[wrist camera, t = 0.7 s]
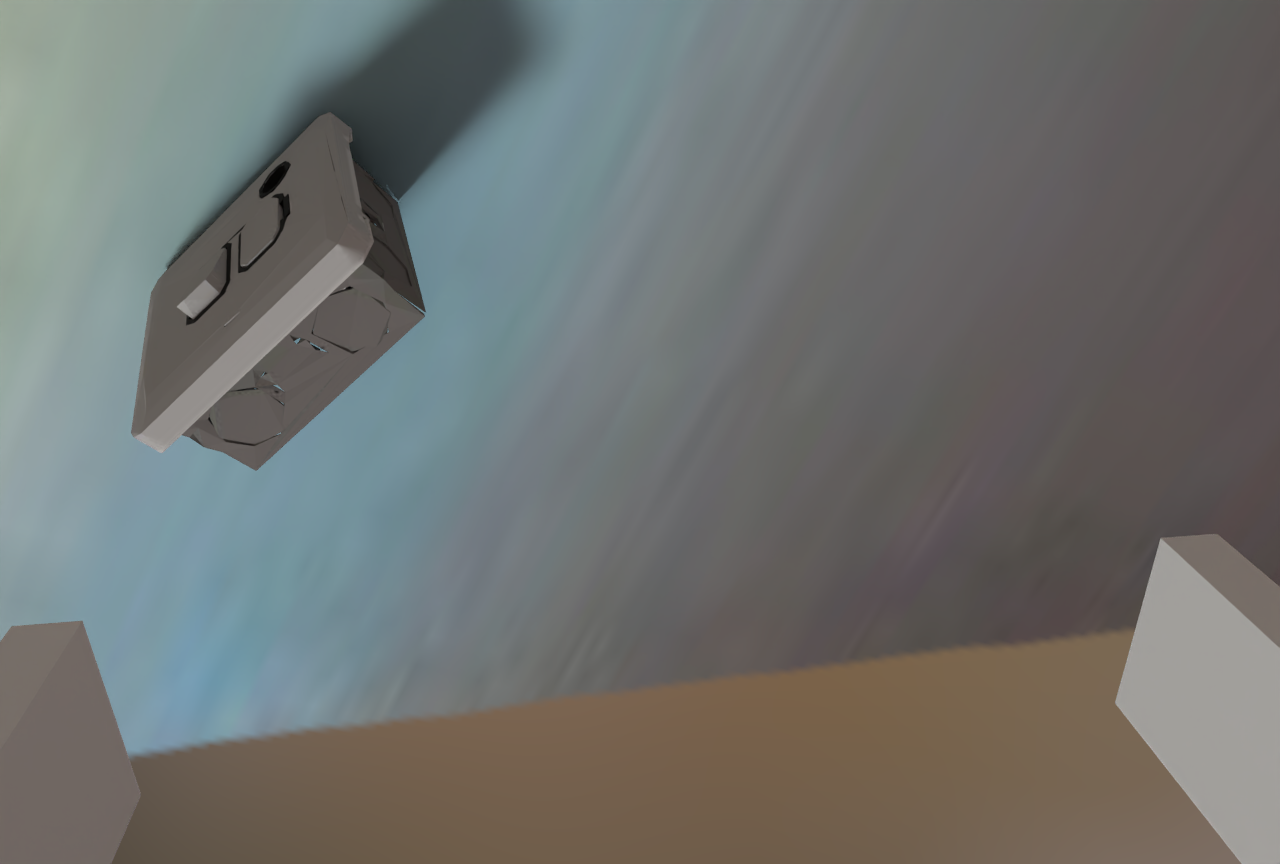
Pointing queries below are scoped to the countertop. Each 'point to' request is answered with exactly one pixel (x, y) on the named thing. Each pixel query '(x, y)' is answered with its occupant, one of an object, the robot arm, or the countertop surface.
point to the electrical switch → (277, 304)
